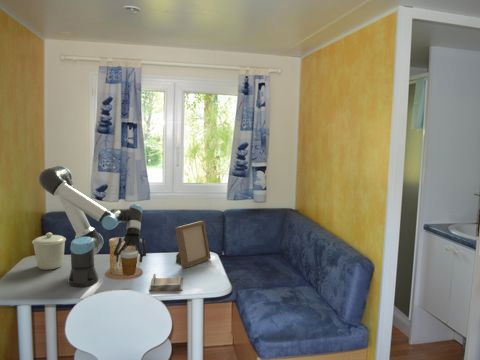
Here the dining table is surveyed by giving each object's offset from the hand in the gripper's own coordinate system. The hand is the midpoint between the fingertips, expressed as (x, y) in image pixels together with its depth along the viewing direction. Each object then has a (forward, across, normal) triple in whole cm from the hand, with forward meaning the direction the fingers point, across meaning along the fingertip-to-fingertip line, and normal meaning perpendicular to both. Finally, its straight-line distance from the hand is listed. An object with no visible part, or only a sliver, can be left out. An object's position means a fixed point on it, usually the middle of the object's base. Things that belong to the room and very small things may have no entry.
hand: (128, 267), depth 205 cm
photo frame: (-20, -33, -35) cm, 52 cm away
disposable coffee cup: (+1, 0, -6) cm, 6 cm away
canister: (-15, +50, -34) cm, 63 cm away
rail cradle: (+5, -20, -10) cm, 23 cm away
